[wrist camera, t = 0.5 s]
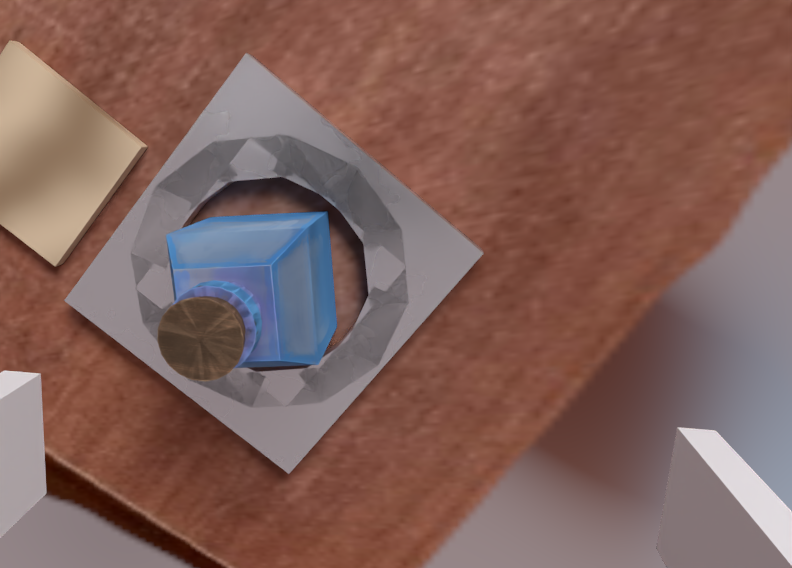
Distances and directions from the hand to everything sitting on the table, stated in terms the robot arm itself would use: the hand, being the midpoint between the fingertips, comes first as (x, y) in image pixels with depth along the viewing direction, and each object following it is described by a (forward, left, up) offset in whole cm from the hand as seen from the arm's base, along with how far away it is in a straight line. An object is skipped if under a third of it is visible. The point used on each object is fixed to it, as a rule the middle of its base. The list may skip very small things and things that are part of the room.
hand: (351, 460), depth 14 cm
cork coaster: (-18, -8, -22) cm, 29 cm away
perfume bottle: (-5, -5, -23) cm, 24 cm away
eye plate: (-5, -5, -22) cm, 23 cm away
